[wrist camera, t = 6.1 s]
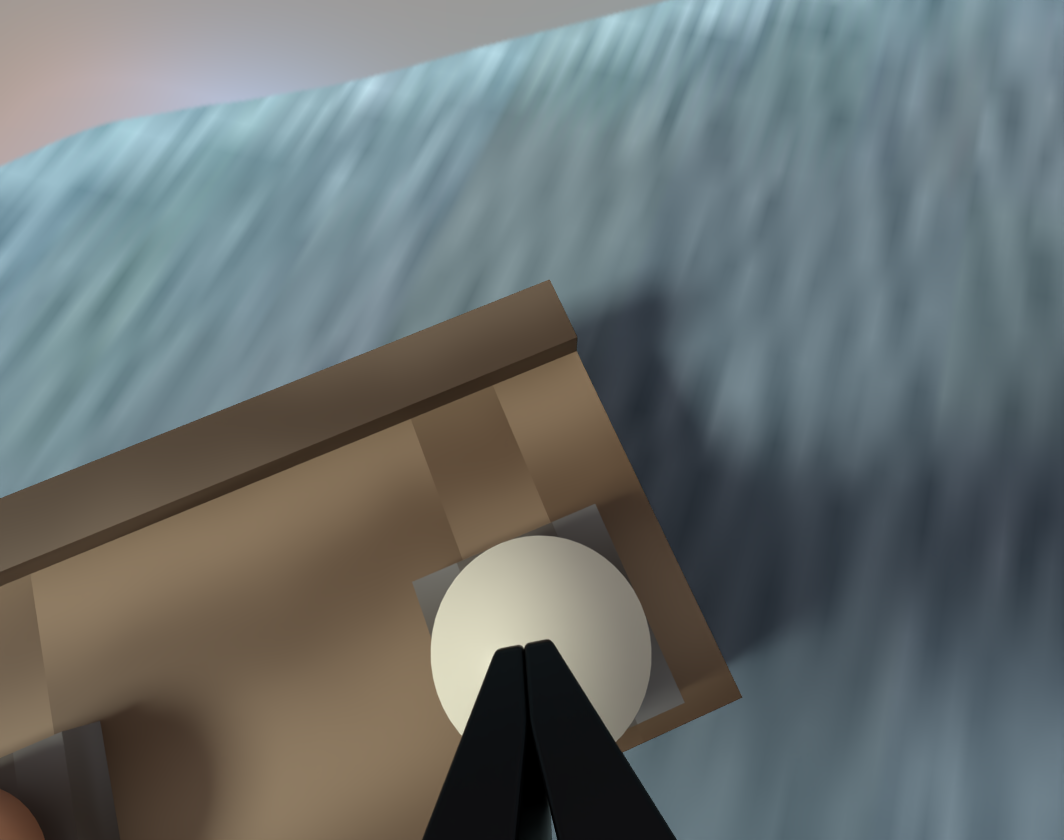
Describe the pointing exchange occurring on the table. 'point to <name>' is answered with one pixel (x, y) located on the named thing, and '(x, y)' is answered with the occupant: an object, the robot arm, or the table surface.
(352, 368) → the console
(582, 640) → the button cream
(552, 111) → the table surface
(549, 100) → the table surface
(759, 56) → the table surface
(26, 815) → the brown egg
